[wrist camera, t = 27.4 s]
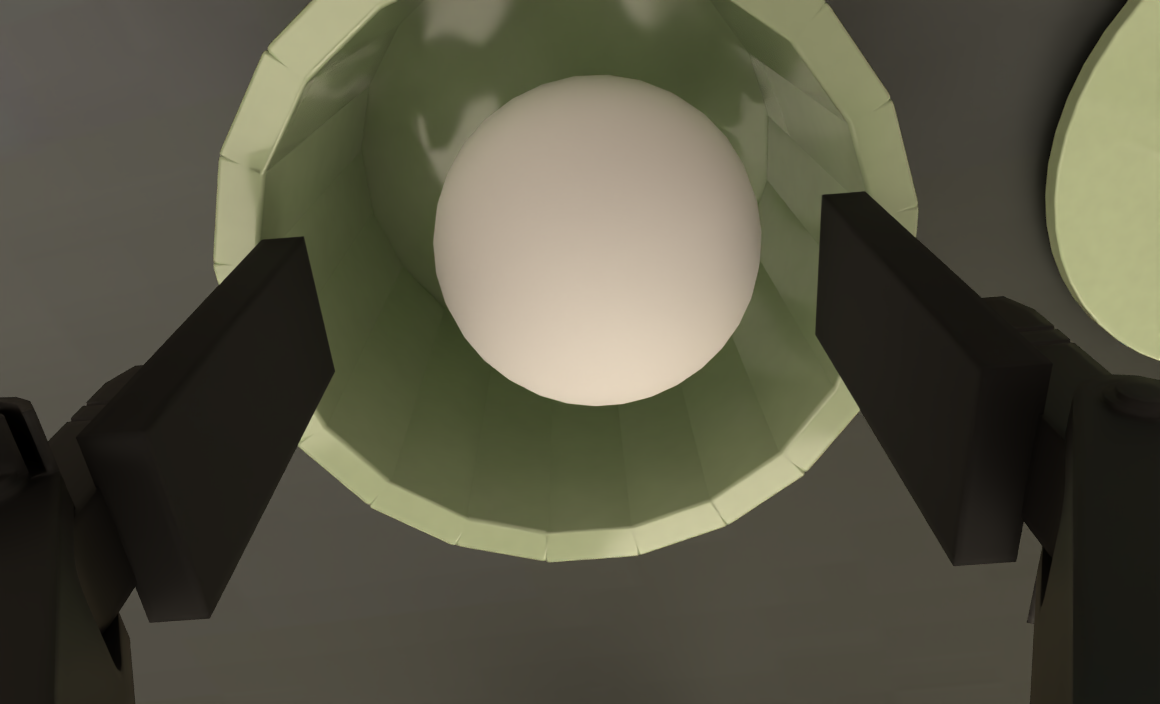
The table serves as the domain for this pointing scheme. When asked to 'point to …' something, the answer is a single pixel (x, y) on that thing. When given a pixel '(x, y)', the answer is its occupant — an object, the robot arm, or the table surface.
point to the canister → (426, 326)
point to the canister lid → (1112, 181)
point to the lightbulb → (597, 240)
